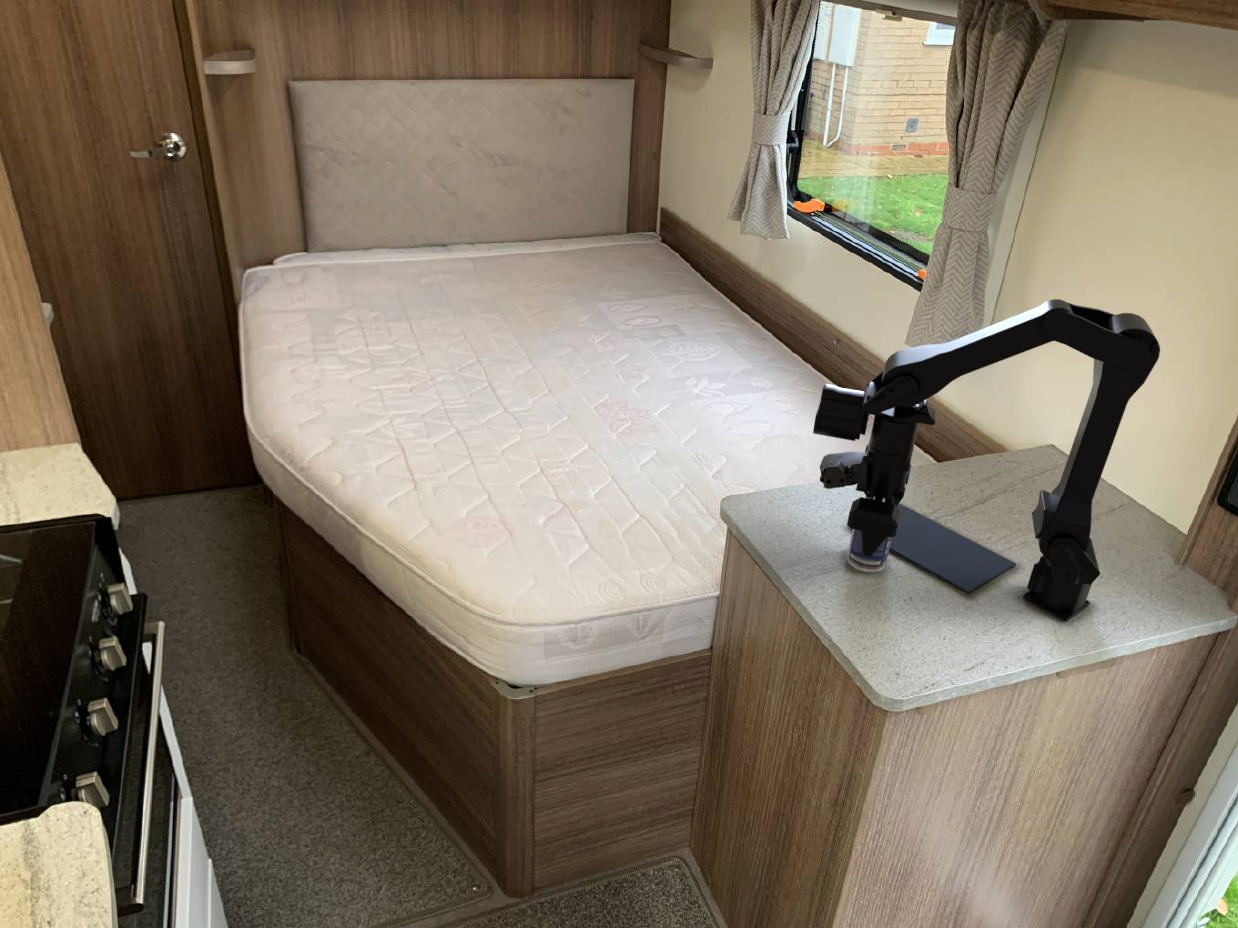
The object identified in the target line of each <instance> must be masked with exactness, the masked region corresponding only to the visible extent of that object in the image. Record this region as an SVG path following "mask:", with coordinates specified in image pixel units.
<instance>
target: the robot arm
mask: <svg viewBox="0 0 1238 928" xmlns="http://www.w3.org/2000/svg"><path fill="white" fill-rule="evenodd" d="M1051 342H1056V343H1059V344H1062V345H1065V346H1067V347H1069V348H1071V349H1072V350H1075V351H1077V352H1079V353H1080V354H1083V355H1085V356H1088V357H1089V358H1092V359H1093V371H1092V373H1093V374H1092V386H1091V389H1090V393H1089V395H1088V398H1087V401H1086V404H1085V407H1084V409H1083V412H1082V416H1081V419H1080V422H1079V425H1078V427H1077V431H1076V432H1075V433H1076V434H1075V435H1074V440H1073V442H1072V445H1071V448H1070V451H1069V454H1068V457H1067V460H1066V463H1065V465H1064V468H1063V472H1062V475H1061V478H1060V480H1059V483H1058V484H1057V486H1056V487H1055V488H1054V489H1053V490H1052V491H1051V492H1048V491H1047V490H1044V489H1040V490H1039V495H1038V502H1037V505H1036V507H1035V509H1033V511H1032V512H1031V517H1032V518H1031V519H1032V525H1033V531H1034V538H1035V539H1036V540H1037V542H1038V548H1039V552H1040V553H1041V554H1042V555H1041V556H1040V557H1039V561H1037V562H1035V563H1033V567H1032V570H1031V573H1030V576H1029V579H1028V582H1027V586H1026V588H1027V591H1025V592H1024V593H1023V594H1022V600H1025V601H1026V602H1028V603H1030V604H1032V605H1033V606H1036V607H1038V608H1040V609H1041V610H1043V611H1045V612H1046V613H1048V614H1050V615H1052V616H1054V617H1056V618H1057V619H1060V620H1062V621H1064V622H1068V621H1070V620H1072V619H1073V618H1074V617H1076V616H1077V615H1078V614H1080V613H1081V612H1083V611H1085V609H1087V608H1088V607H1090V605H1091V602H1090V600H1088V596H1089V593H1090V590H1091V588H1092V585H1093V583H1094V582H1095V581H1096V580H1097V579H1098V578H1099V577H1100V575H1101V572H1100V571H1101V570H1100V567H1099V563H1098V560H1097V555H1096V552H1095V548H1094V544H1093V540H1092V538H1091V530H1092V515H1093V514H1092V513H1093V512H1092V511H1093V500H1094V496H1095V494H1096V491H1097V488H1098V486H1099V484H1100V480H1101V477H1102V475H1103V472H1104V470H1105V467H1106V464H1107V461H1108V458H1109V455H1110V453H1111V450H1112V447H1113V444H1114V442H1115V439H1116V436H1117V433H1118V431H1119V427H1120V425H1121V423H1122V419H1123V417H1124V414H1125V411H1126V407H1127V406H1128V403H1129V401H1130V400H1131V398H1132V397H1133V396H1134V395H1135V394H1136V393H1137V392H1138V391H1139V389H1140V388H1142V386H1143V385H1144V384H1145V382H1146V381H1147V380H1148V377H1149V376H1150V375H1151V372H1152V371H1153V369H1154V368H1155V366H1156V364H1157V363H1158V361H1159V358H1160V354H1161V346H1160V343H1159V341H1158V339H1157V337H1156V336H1155V334H1154V332H1153V330H1152V329H1151V327H1150V325H1149V324H1148V321H1146V319H1145V318H1143V317H1142V316H1140V315H1139V314H1136V313H1132V312H1122V313H1117V314H1114V313H1112V312H1108V311H1106V310H1103V309H1099V308H1095V307H1089V306H1085V305H1077V304H1073V303H1070V302H1068V301H1065V300H1063V299H1058V298H1054V299H1049V300H1046V301H1044V302H1043V303H1042V304H1040V305H1039V306H1036V307H1034V308H1032V309H1029V310H1026V311H1023V312H1022V313H1019V314H1017V315H1013V316H1011V317H1009V318H1006V319H1004V320H1001V321H999V322H996V323H994V324H991V325H989V326H986V327H984V328H981V329H979V330H977V331H974V332H971V333H969V334H966V335H964V336H961V337H959V338H956V339H954V340H952V341H948V342H944V343H937V344H923V345H918V346H914V347H909V348H905V349H901V350H897V351H895V352H894V353H892V354H891V355H890V356H889V357H888V358H887V359H886V361H885V363H884V366H883V369H882V371H881V372H879V374H877V375H876V376H874V378H872V379H871V380H870V381H868V383H866V385H865V388H864V391H862V390H857V389H851V388H844V387H839V386H837V385H833V384H829V383H825V384H823V387H822V391H821V396H820V400H819V402H818V403H819V404H818V407H817V410H816V412H815V413H816V414H815V418H814V424H813V431H812V434H813V435H818V436H823V437H830V438H834V439H840V440H846V441H852V442H856V440H858V441H860V439H861V435H862V436H866V432H867V427H868V422H869V417H870V416H871V415H872V416H873V421H872V425H871V431H870V435H869V439H868V443H867V444H866V446H865V451H844V452H835V453H828V454H825V455H824V456H822V460H821V462H820V464H819V470H820V477H819V481H820V483H822V484H823V488H824V489H825V490H826V489H827V490H833V489H838V488H839V489H840V488H845V487H851V486H855V485H856V488H855V491H857V492H861V493H864V495H865V497H863V496H860V497H858V498H856V499H854V500H853V501H852V504H851V506H850V509H849V512H848V517H847V523H846V527H848V528H849V529H850V530H852V529H855V530H859V531H861V536H862V550H863V555H865V556H869V557H870V556H872V555H873V553H874V552H875V551H876V550H877V549H878V548H879V546H880V545H881V544H882V543H883V542H884V541H885V539H886V538H887V537H890V538H891V537H895V535H896V531H897V526H898V522H899V518H900V513H901V512H900V510H899V509H898V508H897V506H898V505H899V504H901V502H902V500H903V498H904V496H905V493H906V489H907V488H906V485H908V483H909V479H910V475H911V469H912V466H913V465H912V463H911V461H912V457H913V452H914V448H915V443H916V440H917V435H918V430H919V425H920V424H923V425H928V426H934V425H935V424H936V420H937V419H936V418H937V417H936V414H937V412H936V410H935V409H934V408H933V407H932V406H931V405H930V404H929V400H928V399H930V398H931V397H933V396H935V395H937V394H938V393H940V392H941V391H942V390H943V389H945V388H946V387H947V386H948V385H950V384H951V383H953V382H954V381H955V380H957V379H959V378H961V377H963V376H965V375H967V374H968V375H969V374H970V373H973V372H975V371H978V370H981V369H984V368H986V367H989V366H991V365H994V364H996V363H999V362H1001V361H1004V360H1007V359H1010V358H1013V357H1015V356H1018V355H1020V354H1023V353H1025V352H1028V351H1030V350H1033V349H1036V348H1038V347H1042V346H1044V345H1046V344H1049V343H1051ZM874 497H875V500H873V498H874ZM883 498H884V499H885V501H884V502H883Z"/></svg>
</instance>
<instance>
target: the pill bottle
mask: <svg viewBox="0 0 1238 928" xmlns="http://www.w3.org/2000/svg"><path fill="white" fill-rule="evenodd" d="M873 500H875V497H874V498H873ZM884 501H885V499H884V498H883V502H884ZM891 539H892V537H891V538H890V537H887V538H886V539H885V541H884V542H883V543H882V544H881V545H880V546H879V548H878V549H877V550H876V551H875V552H874V553H873V555H872V556H870V557H869V556H865V555H863V550H862V536H861V531H859V530H855V529H853V530H852V529H851V535H850V539H849V545H848V550H847V554H846V559H847V563H848V564H849V565H850V566H851V567H852V568H853V569H855V570H858V571H860V572H864V573H879V572H880V571H882V570H884V569H885V567H886V564H887V560H888V556H889V552H890V551H889V548H890V543H891Z"/></svg>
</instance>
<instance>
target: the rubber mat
mask: <svg viewBox="0 0 1238 928" xmlns="http://www.w3.org/2000/svg"><path fill="white" fill-rule="evenodd" d="M897 508H898V509H899V510H900V512H901V513H900V518H899V522H898V526H897V531H896V535H895V537H892V539H891V543H890V548H889V552H891V553H892V554H894V555H896V556H898V557H900V558H902V559H904V560H906V561H907V562H909V563H910V564H913V565H914V566H916V567H918V568H920V569H921V570H923V571H925V572H926V573H929V574H930V575H932V576H934V577H935V578H937V579H939V580H941V581H943V582H945V583H947V584H948V585H950V586H951V587H954V588H955V589H957V590H959V591H961V592H963V593H964V594H966V595H970V594H972V593H973V592H975V591H977V590H978V589H980V588H982V587H983V586H985V585H987V584H988V583H990V582H992V581H993V580H995V579H997V578H998V577H1000V576H1001V575H1003V574H1005V573H1006V572H1008V571H1009V570H1011V569H1013V568H1014V567H1016V565H1017V563H1016V562H1014V561H1012V560H1010V559H1008V558H1006V557H1004V556H1003V555H1001V554H998V553H997V552H995V551H993V550H991V549H989V548H987V547H985V546H983V545H981V544H979V543H977V542H975V541H973V540H972V539H970V538H968V537H966V536H964V535H962V534H960V533H958V532H956V531H954V530H952V529H951V528H948V527H946V526H944V525H942V524H941V523H938V522H936V521H935V520H933V519H932V518H931V519H930V518H929V517H927V516H925V515H923V514H921V513H919V512H917V511H915V510H913V509H911V508H909V507H907V506H906V505H903V504H902V503H899V504H898V506H897ZM852 530H853V529H851V531H852Z"/></svg>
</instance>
